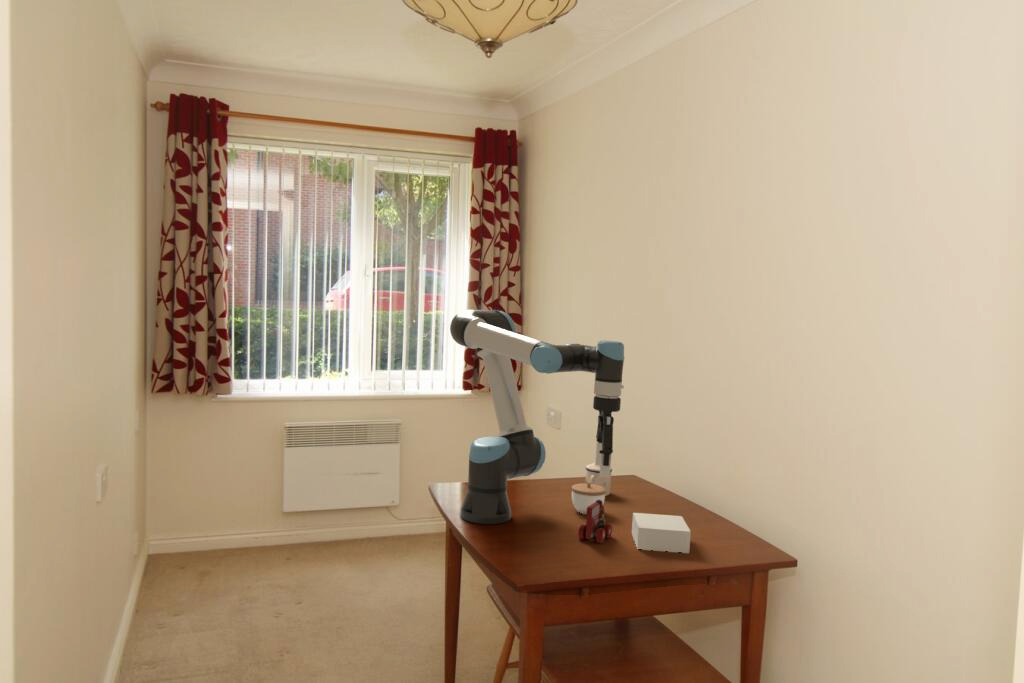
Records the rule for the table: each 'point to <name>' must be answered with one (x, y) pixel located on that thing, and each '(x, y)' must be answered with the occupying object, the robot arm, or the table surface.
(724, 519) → the table surface
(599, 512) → the toy fire truck
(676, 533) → the cream white block
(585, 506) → the lidded jar
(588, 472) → the teacup with lid
